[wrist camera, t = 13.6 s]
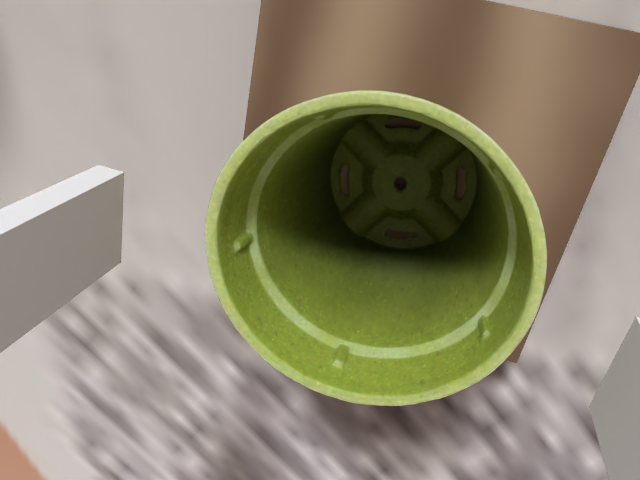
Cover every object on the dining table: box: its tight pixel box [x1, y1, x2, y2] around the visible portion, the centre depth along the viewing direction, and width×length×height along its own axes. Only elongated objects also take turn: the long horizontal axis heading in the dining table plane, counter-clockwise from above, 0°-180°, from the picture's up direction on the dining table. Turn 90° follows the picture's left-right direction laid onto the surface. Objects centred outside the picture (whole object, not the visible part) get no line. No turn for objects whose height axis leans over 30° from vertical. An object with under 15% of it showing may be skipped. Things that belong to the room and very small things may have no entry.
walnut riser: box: [243, 0, 640, 363], centre depth 24 cm, size 14×14×3 cm
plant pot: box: [205, 90, 547, 406], centre depth 19 cm, size 9×9×9 cm
